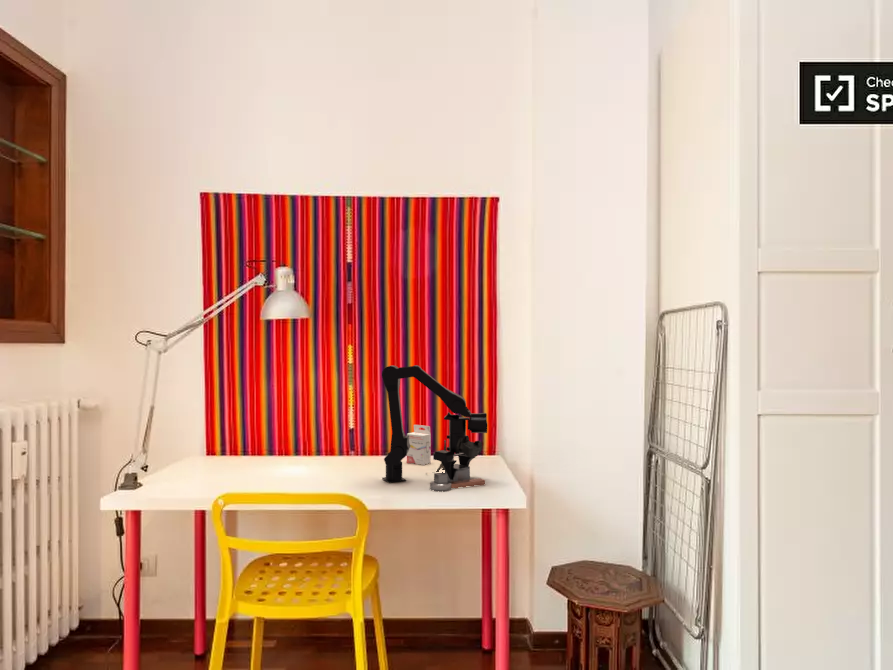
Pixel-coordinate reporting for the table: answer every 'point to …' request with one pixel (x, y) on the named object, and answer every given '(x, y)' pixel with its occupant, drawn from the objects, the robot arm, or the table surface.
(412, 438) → the ink cartridge box
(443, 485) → the hammer
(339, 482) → the table surface
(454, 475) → the socket
